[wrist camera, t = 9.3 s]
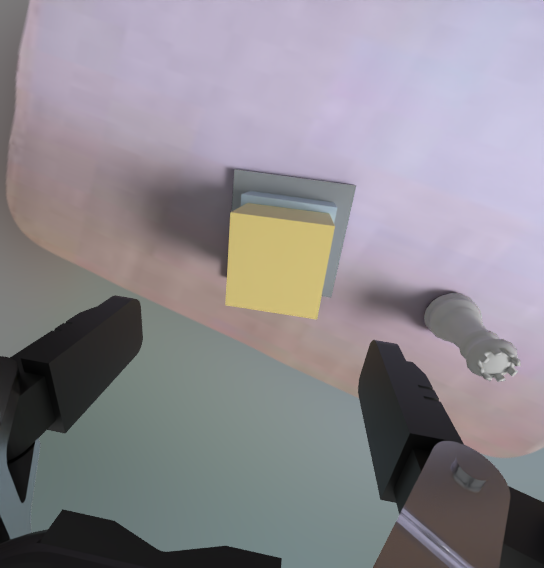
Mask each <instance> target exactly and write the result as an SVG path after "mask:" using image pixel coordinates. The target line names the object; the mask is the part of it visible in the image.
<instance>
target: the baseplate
mask: <svg viewBox="0 0 544 568" xmlns="http://www.w3.org/2000/svg"><path fill="white" fill-rule="evenodd" d="M355 189H356V186H355V185H349V184H342V183H334V182H327V181H320V180H312V179H305V178H297V177H290V176H283V175H275V174H268V173H260V172H253V171H246V170H238V169H234V182H233V197H232V211H234V210H236V209H237V208H239V207H241V206H243V205H245V204H246V203H253V204H261V205H268V206H276V207H284V208H291V209H299V210H307V211H315V212H322V213H329V214H330V216H331V218H332V221H333V223H334V225H335V229H334V234H333V239H332V245H331V250H330V255H329V260H328V265H327V270H326V275H325V280H324V286H323V291H322V296H324V297H331V296H332V291H333V287H334V283H335V278H336V274H337V269H338V265H339V260H340V256H341V251H342V247H343V242H344V238H345V233H346V229H347V224H348V220H349V215H350V211H351V206H352V202H353V197H354V193H355Z"/></svg>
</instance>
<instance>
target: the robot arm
mask: <svg viewBox="0 0 544 568" xmlns="http://www.w3.org/2000/svg"><path fill="white" fill-rule="evenodd" d="M142 340H143V335H142V319H141V306H140V302H139V301H138V300H137V299H133V298H127V297H121V296H112V297H111V298H109V299H108V300H106V301H105V302H103V303H102V304H100V305H99V306H98V307H94V308H91V309H89V310H86V311H83V312H81V313H79V314H77V315H75V316H74V317H72V318H71V319H69V320H68V321H66V323H65V324H64V323H63V324H62V325H60V326H58V327H57V328H55V330H54V331H51V332H49V333H48V334H46V335H44V336H43V337H41V338H40V339H38V340H37V341H35V342H33V343H32V344H30V345H29V346H27V347H26V348H24V349H23V350H21V351H20V352H18V353H17V354H15V355H14V356H12V357H10V358H9V357H3V356H0V568H281V558H278V557H273V556H269V555H264V554H260V553H256V552H251V551H247V550H242V549H238V548H233V547H229V546H219V547H210V548H200V549H191V550H182V551H171V552H163V551H160V550H158V549H156V548H154V547H153V546H151V545H150V544H148V543H147V542H145V541H144V540H142V539H141V538H139V537H138V536H136V535H134V534H133V533H132V532H130V531H129V530H127V529H126V528H124V527H123V526H121V525H120V524H118V523H117V522H115V521H112V520H108V519H103V518H99V517H94V516H90V515H85V514H80V513H76V512H72V511H67V510H62V511H61V513H60V514H59V515H58V517H57V518H56V519H55V521H54V522H53V523H52V525H51V526H50V528H49V529H48V530H43V531H38V532H34V533H32V530H31V507H32V500H33V493H34V487H35V480H36V473H37V466H38V459H39V452H40V441H39V437H40V436H41V435H42V434H43V433H44V432H45V431H46V430H51V431H56V432H61V433H66V432H67V431H68V430H69V429H70V428H71V426H72V425H73V424H74V423H75V422H76V421H77V420H78V419H79V418H80V417H81V415H82V414H83V413H84V412H85V411H86V410H87V409H88V408H89V407H90V405H91V404H92V403H93V402H94V401H95V400H96V399H97V398H98V397H99V396H100V395H101V393H102V392H103V391H104V390H105V389H106V388H107V387H108V386H109V385H110V384H111V382H112V381H113V380H114V379H115V378H116V377H117V376H118V375H119V374H120V373H121V371H122V370H123V369H124V368H125V367H126V366H127V365H128V364H129V362H131V360H132V359H133V358H134V357H135V356H136V355H137V353H138V352H139V350H140V348H141V345H142ZM358 394H359V400H360V404H361V409H362V414H363V419H364V423H365V428H366V433H367V438H368V442H369V447H370V451H371V456H372V461H373V466H374V471H375V476H376V480H377V485H378V490H379V495H380V499H381V500H385V501H390V502H395V503H397V507H398V511H399V517H398V519H397V521H396V523H395V525H394V527H393V529H392V531H391V533H390V535H389V537H388V539H387V541H386V543H385V545H384V547H383V549H382V551H381V553H380V555H379V557H378V558H377V560H376V563H375V565H374V566H373V568H544V502H542V501H539V500H537V499H535V498H533V497H531V496H529V495H526V494H524V493H522V492H520V491H518V490H515V489H513V488H511V487H509V486H508V485H507V483H506V481H505V479H504V477H503V476H502V475H501V473H500V472H499V470H498V469H497V468H496V467H495V466H494V465H493V464H492V463H491V462H490V461H489V460H488V459H486V458H485V457H484V456H483V455H481V454H480V453H478V452H477V451H475V450H474V449H472V448H470V447H468V446H466V445H464V444H463V442H462V440H461V438H460V436H459V435H458V433H457V431H456V429H455V427H454V425H453V424H452V422H451V420H450V418H449V416H448V415H447V413H446V411H445V409H444V407H443V405H442V404H441V402H439V398H438V396H437V395H436V393H435V391H434V390H433V387H432V385H431V384H430V382H429V380H428V378H427V376H426V374H424V373H423V372H422V371H421V370H420V369H419V368H418V367H417V366H416V365H415V364H414V363H413V362H408V361H406V360H405V358H404V356H403V354H402V352H401V350H400V348H399V346H398V345H397V344H394V343H389V342H383V341H377V340H373V341H372V342H371V343H370V346H369V349H368V352H367V355H366V358H365V362H364V365H363V368H362V371H361V375H360V378H359V385H358Z"/></svg>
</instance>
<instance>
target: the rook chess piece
mask: <svg viewBox="0 0 544 568" xmlns="http://www.w3.org/2000/svg"><path fill="white" fill-rule="evenodd" d="M424 320H425V324H426V326H427V327H428V328H429V330H430V331H431V332H432V333H433V334H434V335H435V336H436V337H438V338H440V339H443V340H445V341H449V342H451V343H454V344H455V345H456V346H457V347H459V348H460V353H461V355H462V356H463V357H464V358H465V359H466V362H467V367H468V368H469V369H470V371H471V372H472V373H474V374H476V375H478V376H483V378H484V379H487V380H489V381H491V379H492V377H494V378H495V379H496V380H497V382H500V381H505V378H504V376H503V375H505V374H507V373H509V374H510V375H511V376H512V377H513V376H514V375H515V374H516V373H517V372H518V371H517V370H516V369H515V368H514V366H521V364H520V360H519V359H518V358H517V349H516V348H515V347H514V346H513V344H512V343H510V342H508V341H506V340H504V339H500V338H499V337H498V336H497V335H496V334H495V333H493V332H491V331H488V330H487V329H486V328H485V327H484V325H483V323H482V315H481V311H480V309H479V308H478V306H477V305H476V304H475V303H474V302H473V301H472V300H471V299H470V298H469V297H467V296H465V295H463V294H457V293H450V294H446V295H442V296H440V297H438V298H437V299H435V300H434V301H432V302H431V303H430V305H429V306H428V307H427V309H426V312H425V316H424Z"/></svg>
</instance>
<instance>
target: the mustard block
mask: <svg viewBox="0 0 544 568" xmlns="http://www.w3.org/2000/svg"><path fill="white" fill-rule="evenodd" d="M334 229H335V225H334V223H333V221H332V218H331V216H330V214H329V213H322V212H315V211H307V210H299V209H291V208H284V207H276V206H268V205H261V204H253V203H246V204H245V205H243V206H241V207H239V208H237V209H236V210H234V211H232V212H230V230H229V249H228V268H227V286H226V305H228V306H234V307H240V308H247V309H253V310H260V311H266V312H273V313H279V314H286V315H292V316H298V317H305V318H311V319H317V316H318V311H319V306H320V301H321V296H322V291H323V286H324V280H325V275H326V270H327V265H328V260H329V255H330V250H331V245H332V239H333V234H334Z"/></svg>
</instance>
